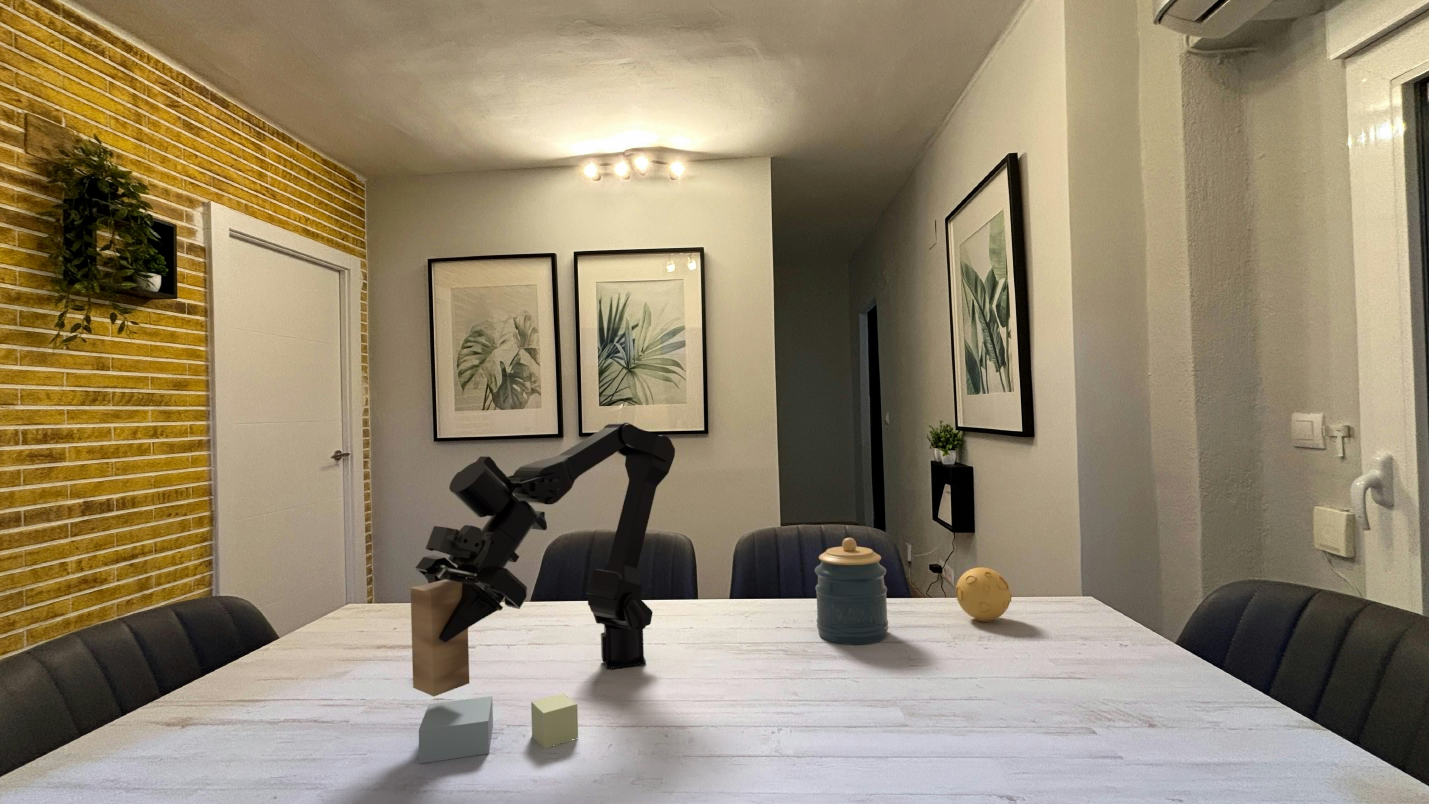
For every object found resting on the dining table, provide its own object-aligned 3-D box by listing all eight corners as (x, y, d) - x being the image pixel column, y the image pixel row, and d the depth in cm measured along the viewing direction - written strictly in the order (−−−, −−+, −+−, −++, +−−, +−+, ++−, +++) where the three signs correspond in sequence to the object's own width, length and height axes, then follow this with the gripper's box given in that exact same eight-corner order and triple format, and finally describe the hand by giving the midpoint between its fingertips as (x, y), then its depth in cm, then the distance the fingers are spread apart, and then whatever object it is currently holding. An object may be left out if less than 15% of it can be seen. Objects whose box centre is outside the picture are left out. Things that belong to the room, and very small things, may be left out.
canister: (898, 629, 129) (894, 534, 129) (874, 650, 118) (870, 546, 118) (833, 620, 135) (830, 530, 136) (805, 639, 125) (801, 541, 125)
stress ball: (966, 616, 138) (936, 589, 135) (995, 577, 139) (966, 550, 136) (1000, 639, 129) (968, 610, 126) (1031, 597, 130) (1000, 568, 127)
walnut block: (448, 675, 93) (445, 579, 94) (469, 683, 90) (466, 584, 90) (413, 687, 89) (410, 587, 90) (433, 696, 86) (430, 592, 87)
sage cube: (564, 726, 92) (563, 692, 92) (578, 739, 88) (577, 703, 88) (532, 736, 89) (531, 701, 90) (544, 749, 86) (543, 713, 86)
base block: (493, 725, 93) (492, 696, 93) (488, 753, 85) (488, 720, 85) (429, 734, 91) (428, 703, 91) (419, 763, 83) (418, 730, 83)
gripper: (426, 499, 99) (350, 593, 90) (505, 505, 88) (426, 614, 79) (476, 544, 105) (409, 637, 96) (556, 556, 94) (488, 662, 85)
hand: (430, 636), depth 89 cm, fingers closed on walnut block, 5 cm apart
